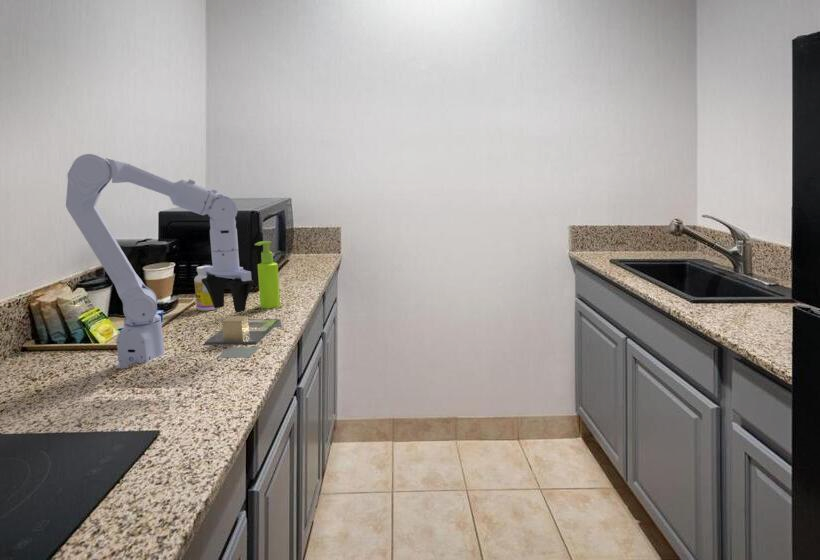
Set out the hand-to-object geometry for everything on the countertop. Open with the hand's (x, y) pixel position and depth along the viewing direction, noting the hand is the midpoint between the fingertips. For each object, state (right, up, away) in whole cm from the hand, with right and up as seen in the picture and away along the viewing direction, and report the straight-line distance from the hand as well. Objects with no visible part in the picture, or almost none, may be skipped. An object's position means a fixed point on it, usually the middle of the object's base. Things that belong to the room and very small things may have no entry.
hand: (229, 309), depth 124 cm
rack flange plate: (+1, -8, +11) cm, 13 cm away
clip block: (0, -7, +4) cm, 8 cm away
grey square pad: (+4, -10, -5) cm, 12 cm away
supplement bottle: (-20, -2, +42) cm, 47 cm away
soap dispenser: (-2, -2, +43) cm, 43 cm away
